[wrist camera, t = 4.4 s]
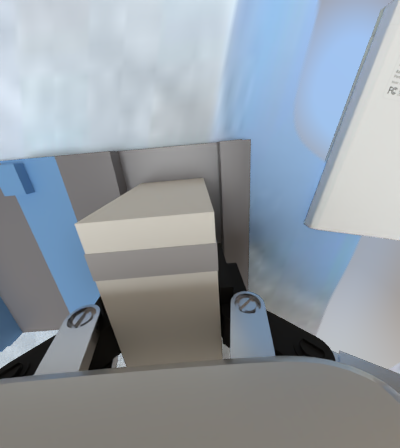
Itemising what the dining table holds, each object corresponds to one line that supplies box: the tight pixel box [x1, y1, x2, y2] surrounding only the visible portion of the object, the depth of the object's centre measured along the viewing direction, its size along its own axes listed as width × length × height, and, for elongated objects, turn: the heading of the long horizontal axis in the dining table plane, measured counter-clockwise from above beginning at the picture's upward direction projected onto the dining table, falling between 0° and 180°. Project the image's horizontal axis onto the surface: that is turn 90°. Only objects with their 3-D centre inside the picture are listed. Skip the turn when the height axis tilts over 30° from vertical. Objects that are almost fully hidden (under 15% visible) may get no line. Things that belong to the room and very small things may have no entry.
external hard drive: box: [304, 0, 400, 240], centre depth 12 cm, size 2×8×12 cm
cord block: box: [75, 178, 223, 367], centre depth 10 cm, size 10×4×7 cm, turn 5°
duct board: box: [0, 139, 251, 352], centre depth 13 cm, size 14×22×3 cm, turn 95°
